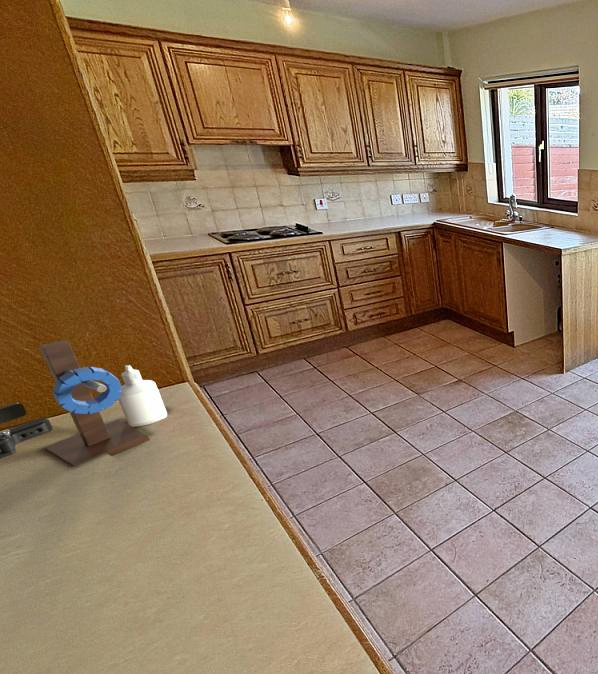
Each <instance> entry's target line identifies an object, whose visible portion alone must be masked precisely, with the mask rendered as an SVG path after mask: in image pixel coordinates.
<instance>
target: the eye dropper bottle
mask: <svg viewBox="0 0 598 674" xmlns="http://www.w3.org/2000/svg"><path fill="white" fill-rule="evenodd" d="M124 370H125V371H124V372H122V373H121V375H120V376H121V378H122V380H123V382H124V384H123V385H121V388H122V390H120V391H122V392H121V394H120V396H119V398H118V400H117V401H118V402H119V404H120V407H121V409H122V411H123V415H124V417H125V419H126V421H127V424H128V425H130V426H132V427H134V428H137V427H143V426H147V425H150V424H153V423H154V424H155V423H157V422H159V421H162V420H164V419H166V418H167V417H168V411H167V409H166V407H165V404H164V401H163V399H162V396H161V394H160V390H159V388H158V386H157V384H156V382H155V381H153V380H151V379H143V378H142V375H141V373H140V370H139V369H133V367H132V366H131V365H130V364H128V365H125V366H124Z"/></svg>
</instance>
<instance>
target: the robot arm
mask: <svg viewBox="0 0 598 674" xmlns="http://www.w3.org/2000/svg"><path fill="white" fill-rule="evenodd" d="M26 415H27V410H26V408H25V406H24V405H23V404H22V403H20V402H13V403H10V404H7V405H4V406H1V407H0V425H1V424H4V423H7V422H10V421H13V420H16V419H20V418H22V417H25V416H26ZM50 432H53V425H52V424H51V422H50V419H48V418H47V417H40V418H37V419H34V420H31V421H28V422H25V423H22V424H19V425H17V426H14V427H11V428H9V429H5V430H0V459H3V458H6V457H9V456H12V455H15V454H16V453H17V449H16V447H18V444H20V443H23V442H26V441H28V440H32V439H34V438H37V437H39V436H42V435H44V434H47V433H50Z"/></svg>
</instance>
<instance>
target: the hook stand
mask: <svg viewBox="0 0 598 674" xmlns="http://www.w3.org/2000/svg"><path fill="white" fill-rule="evenodd" d="M70 343H71V342H70V341H67V340H65V339H62V340H58V341H55V342H50V343H46V344H43V345H39V346H38V348H39V350H40V352H41V354H42V357H43V359H44V360H45V363H46V365H47V367H48V369H49V371H50V373H51V376H52V378H53V380H54V382H55V383H56V381H57V380H61V379H60V377H61V376H63V375H64V374H66V373H67V372H69V371H71V372H73V370H74V369H78V368H81V367H80V364H79V362H78V360H77V357H76V355H75V353H74V350H73V348H72V345H71V344H70ZM73 373H74V372H73ZM90 389H91V390H93V391H95V392H97V393H102V392H104V391H106V389H107V387H106V386H105V385H104V383H101V382H98V381H97V380H88V381H83V382H81V383H79V384H78V385H76V386H75V387H74V388H73V390H72V392H71V396H72V398H73V399H75V400H80V401H87V400H91V399H95V397H94V396H93V393H92V391H91V390H90ZM69 414H70V416H71V419H72V421H73V423H74V425H75V427H76V429H77V431H78V433H79V434H78V435H75V436H73V437H70V438H68V439H64V440H62V441H59V442H56V443H54V444H51V445H49V446H46V447H45V450H47V451H48V452H50V453H51V454H53V455H55V456H57V457H58V458H60V459H62V460H63V461H65V462H66V463H68V464H69V465H71V466H72V467H76V466H78V465H80V464H83V463H85V462H88V461H90V460H92V459H93V460H94V459H95V458H97V457H100V456H102V455H105V454H107V455H109V456H111V457H112V456H115V455H117V454H120V453H123V452H124V451H127V450H129V449H131V448H133V447H136V446H138V445H140V444H143V443H145V442H148V441H150V437H149V434H148V433H146V432H144V431H141V430H139V428H137V427H132V426H130V425H129V424H128V423H126V422H124V421H122V420H120V419H117V420H114V421H111V422H109V423H105V421H104V418H103V417H102V414H101V411H100V412H96V413H92V414H89V413H87V414H78V413H73V412H69Z"/></svg>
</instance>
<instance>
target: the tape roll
mask: <svg viewBox="0 0 598 674" xmlns="http://www.w3.org/2000/svg"><path fill="white" fill-rule="evenodd" d="M73 372H74V373H73ZM73 372H71V371H69V372H67V373H66V374H64V375H63V376H61V377H60V379H61V380H57V381H56V382H55V383H54V385H53V388H52V395H53V398H54V401H55V402H56V403H57V404H58V405H59V406H60V407H61V408H63V409H64V410H66V411H68V412H69V413H70V412H73V413H78V414H87V413H89V414H92V413H96V412H100V413H101V412H103V411H104V410H108V409H109V408H110V407H111V406H113V405H114V404H115V403H117V401H119V400H118V398H119V396H120V394H121V392H122V391H120V390H122V388H121V386H122V384H121V382H120V380H119V378H118V377H116V376H115V375H114V374H113V373H111V372H109V370H107V369H104V368H101V367H95V366H89V367H88V366H84V367H80V368H78V369H74V370H73ZM88 380H94V381H100V382H102V384H103V385H105V386H106V387H107V389H106V391H104V392H101V393H100V394H99V395H97V396H96V397H94V399H91V400H87V401H80V400H75V399H73V398H72V396H71V392H72V390H73V388H74V387H75V386H76V385H78V384H79V383H81V382H83V381H88Z"/></svg>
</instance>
